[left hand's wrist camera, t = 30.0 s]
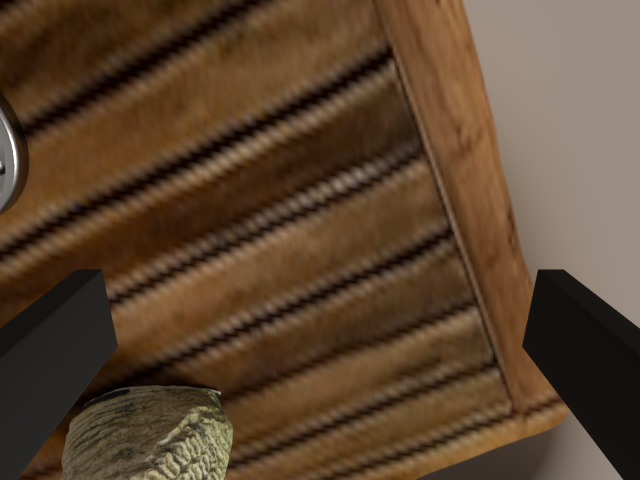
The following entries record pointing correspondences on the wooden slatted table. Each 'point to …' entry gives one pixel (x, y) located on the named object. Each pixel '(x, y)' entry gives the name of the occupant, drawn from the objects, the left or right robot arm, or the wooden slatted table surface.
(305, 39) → the wooden slatted table surface
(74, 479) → the fossil
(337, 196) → the wooden slatted table surface
